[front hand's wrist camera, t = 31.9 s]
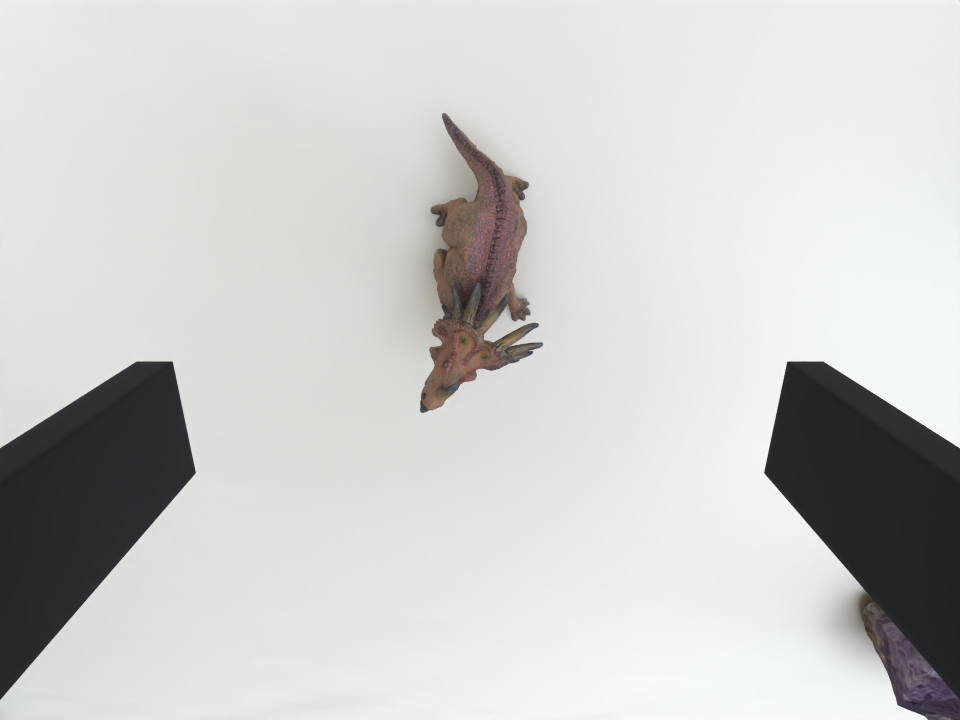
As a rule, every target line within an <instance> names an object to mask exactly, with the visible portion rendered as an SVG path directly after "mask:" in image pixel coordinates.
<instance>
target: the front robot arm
mask: <svg viewBox="0 0 960 720" xmlns="http://www.w3.org/2000/svg"><path fill="white" fill-rule="evenodd" d="M195 473H196V472H195V467H194V462H193V457H192V452H191V448H190V443H189V438H188V433H187V428H186V424H185V419H184V414H183V409H182V404H181V399H180V395H179V390H178V385H177V380H176V375H175V371H174V366H173V362H135V363H134V364H132V365H131V366H129V367H127V368H126V369H124V370H123V371H121V372H120V373H118V374H116V375H115V376H113V377H112V378H110V379H109V380H107V381H105V382H104V383H102V384H101V385H99V386H98V387H96V388H94V389H93V390H91V391H90V392H88V393H87V394H85V395H83V396H82V397H80V398H79V399H77V400H76V401H74V402H72V403H71V404H69V405H68V406H66V407H65V408H63V409H61V410H60V411H58V412H57V413H55V414H54V415H52V416H50V417H49V418H47V419H46V420H44V421H43V422H41V423H39V424H38V425H36V426H35V427H33V428H31V429H30V430H28V431H27V432H25V433H24V434H22V435H20V436H19V437H17V438H16V439H14V440H13V441H11V442H9V443H8V444H6V445H5V446H3V447H2V448H0V699H1V698H2V697H3V696H4V695H5V694H6V692H7V691H8V690H9V689H10V688H11V687H12V686H13V684H14V683H15V682H16V681H17V680H18V679H19V677H20V676H21V675H22V674H23V673H24V672H25V670H26V669H27V668H28V667H29V666H30V665H31V663H32V662H33V661H34V660H35V659H36V658H37V657H38V655H39V654H40V653H41V652H42V651H43V650H44V648H45V647H46V646H47V645H48V644H49V643H50V641H51V640H52V639H53V638H54V637H55V636H56V634H57V633H58V632H59V631H60V630H61V629H62V628H63V626H64V625H65V624H66V623H67V622H68V621H69V619H70V618H71V617H72V616H73V615H74V614H75V612H76V611H77V610H78V609H79V608H80V607H81V606H82V604H83V603H84V602H85V601H86V600H87V599H88V597H89V596H90V595H91V594H92V593H93V592H94V590H95V589H96V588H97V587H98V586H99V585H100V583H101V582H102V581H103V580H104V579H105V578H106V577H107V575H108V574H109V573H110V572H111V571H112V570H113V568H114V567H115V566H116V565H117V564H118V563H119V561H120V560H121V559H122V558H123V557H124V556H125V554H126V553H127V552H128V551H129V550H130V549H131V548H132V546H133V545H134V544H135V543H136V542H137V541H138V539H139V538H140V537H141V536H142V535H143V534H144V532H145V531H146V530H147V529H148V528H149V527H150V526H151V524H152V523H153V522H154V521H155V520H156V519H157V517H158V516H159V515H160V514H161V513H162V512H163V510H164V509H165V508H166V507H167V506H168V505H169V503H170V502H171V501H172V500H173V499H174V498H175V497H176V495H177V494H178V493H179V492H180V491H181V490H182V488H183V487H184V486H185V485H186V484H187V483H188V481H189V480H190V479H191V478H192V477H193V476H194V474H195ZM764 473H765V474H766V476H767V477H768V478H769V479H770V480H771V481H772V483H773V484H774V485H775V486H776V487H777V488H778V490H779V491H780V492H781V493H782V494H783V495H784V497H785V498H786V499H787V500H788V501H789V502H790V503H791V505H792V506H793V507H794V508H795V509H796V510H797V512H798V513H799V514H800V515H801V516H802V517H803V519H804V520H805V521H806V522H807V523H808V524H809V526H810V527H811V528H812V529H813V530H814V531H815V532H816V534H817V535H818V536H819V537H820V538H821V539H822V541H823V542H824V543H825V544H826V545H827V546H828V548H829V549H830V550H831V551H832V552H833V553H834V554H835V556H836V557H837V558H838V559H839V560H840V561H841V563H842V564H843V565H844V566H845V567H846V568H847V570H848V571H849V572H850V573H851V574H852V575H853V577H854V578H855V579H856V580H857V581H858V582H859V583H860V585H861V586H862V587H863V588H864V589H865V590H866V592H867V593H868V594H869V595H870V596H871V597H872V599H873V600H874V601H875V602H876V603H877V604H878V606H879V607H880V608H881V609H882V610H883V611H884V612H885V614H886V615H887V616H888V617H889V618H890V619H891V621H892V622H893V623H894V624H895V625H896V626H897V628H898V629H899V630H900V631H901V632H902V633H903V634H904V636H905V637H906V638H907V639H908V640H909V641H910V643H911V644H912V645H913V646H914V647H915V648H916V650H917V651H918V652H919V653H920V654H921V655H922V657H923V658H924V659H925V660H926V661H927V662H928V663H929V665H930V666H931V667H932V668H933V669H934V670H935V672H936V673H937V674H938V675H939V676H940V677H941V679H942V680H943V681H944V682H945V683H946V684H947V686H948V687H949V688H950V689H951V690H952V691H953V692H954V694H955V695H956V696H957V697H958V698H959V699H960V448H958V447H957V446H955V445H954V444H952V443H951V442H949V441H947V440H946V439H944V438H943V437H941V436H940V435H938V434H936V433H935V432H933V431H932V430H930V429H929V428H927V427H925V426H924V425H922V424H921V423H919V422H917V421H916V420H914V419H913V418H911V417H910V416H908V415H906V414H905V413H903V412H902V411H900V410H899V409H897V408H895V407H894V406H892V405H891V404H889V403H888V402H886V401H884V400H883V399H881V398H880V397H878V396H877V395H875V394H873V393H872V392H870V391H869V390H867V389H866V388H864V387H862V386H861V385H859V384H858V383H856V382H855V381H853V380H851V379H850V378H848V377H847V376H845V375H844V374H842V373H840V372H839V371H837V370H836V369H834V368H833V367H831V366H829V365H828V364H826V363H825V362H787V366H786V371H785V375H784V380H783V385H782V390H781V395H780V399H779V404H778V409H777V414H776V419H775V424H774V428H773V433H772V438H771V443H770V448H769V452H768V457H767V462H766V467H765V472H764Z"/></svg>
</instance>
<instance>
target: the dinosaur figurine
mask: <svg viewBox="0 0 960 720" xmlns="http://www.w3.org/2000/svg"><path fill="white" fill-rule="evenodd" d="M442 118H443V121H444V124H445V126H446V129H447V131H448V134H449V135H450V137H451V139H452V140H453V142H454V143H455V145H456V147H457V149H458V151H459V152H460V153H461V155H462V156H463V157H464V159H465V160H466V162H467V164H468V165H469V167H470V168H471V169H472V171H473V172H474V174H475V176H476V178H477V181H478V185H479V187H478V191H477V195H476V198H475V200H474V202H470V203H467V201H466V200H465V199H464V198H458V199H457V200H453V201H450V202H449V203H446V204H444V205H436V206H434V207H432V208H431V212H432V213H433V214H438V215H440V217H439V218H438V220H437V221H436V225H437V226H443V225H444V229H443V232H442V238H443V240H444V241H445V242H446V243H447V245H449V246H450V249H449V251H446V250H443V249H438V250H437V252H436V253H435V255H434V276H435V279H436V281H437V283H438V284H437V290H438V295H439V298H440V303H441V304H442V309H443V311H444V313H445V316H444V317H443V320H442V319H438V321H436V324H434V328H433V329H432V333H433V335H434V336H436V337H438V338H439V339H440V340H441V341H442V345H441V346H438V347H431V348H430V349H429V351H430V353H431V357H432V359H433V361H434V365H435V366H434V369H433V371H432V372H431V374H430V375H429V377H428V378H427V380H426V382H425V387H424V388H423V390H422V394H421V401H420V405H421V407H420V412H421V413H424V412H427V411H429V410H434V409H436V408H439V407H441V406H442V405H443V404H444V402H445V400H446V399H447V398H448V397H450V396H451V395H452V394H453V393H454V392H455V391H456V390H457V389H458V388H459V386H460V384H462V383H463V382H468V381H473V380H475V378H476V376H477V374H476V370H477V369H486V370H491V371H492V370H496V369H500V368H501V367H503V366H505V365H507V364H509V363H515V362H517V361H519V359H522V358H524V357H527V356H529V355H531V354H532V353H533V351H530V350H533V349H537V348H540V347H542V345H543V343H527V344H520V345H515V346H511V345H512V344H514V343H515V342H517V341H518V340H520V339H521V338H522V337H524V336H525V335H526V334H527V333H529V332H530V331H531V330H533V329H534V328H537V327H538V326H539V324H537V323H531V324H527V325H525V326H523V327H521V328H519V329H517V330H515V331H513V332H511V333H510V334H508V335H506V336H504V337H502V338H501V339H499V340H497V341H496V342H494V343H493V342H490V341H485V340H483V339H484V334H485V332H486V331H487V330H488V329H489V328H490V327H491V326H492V324H493V323H494V322H495V321H496V320H497V319H498V317H499V316H500V315H501V313H502V312H503V310H504V309H505V307H506V306H507V303H508V305H509V308H510V310H511V316H512V320H513V321H517V320H518V319H521V320H523V321H525V320H526V319H525V316H526V315H530V314H531V313H530V311H529V309H528V308H527V307H526V306H527V305H529V304H530V303H529V302H527V299H522V300H518V299H517V298H516V297H515V291H514V285H513V283H512V279H513V277H514V274H515V273H516V268H515V267H516V262H517V255H518V252H519V250H520V247H521V244H522V241H523V240H524V237H525V235H526V232H527V222H526V220H525V218H524V216H523V210H522V208H521V207H520V206H519V199H520V200H524V199H525V195H524V193H523V190H524V189H527V188H528V186H529V184H528V182H525V181H523V180H521V179H519V178H517V177H512V176H505V175H504V174H503V171H502V169H500V168H499V167H498V166H497V165H496V164H495V162H494V161H491V160H490V159H489V158H488V157H487V156H486V155H485V154H483V153H482V152H480V151H479V150H478V149H477V148H476V145H474V144H473V143H472V142H471V141H470V140H469V139H468V137H467V136H466V135H465V134H464V133H463V132H462V131H461V130H460V129H459V128H458V127H457V126H456V125H455V124H454V123H453V122H452V120H451V119H450V117H449V116H448V115H447V114H446V113H443V114H442ZM502 298H503V299H502ZM501 299H502V300H501ZM500 300H501V301H500ZM509 346H511V347H509Z"/></svg>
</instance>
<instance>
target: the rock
mask: <svg viewBox="0 0 960 720" xmlns="http://www.w3.org/2000/svg"><path fill="white" fill-rule="evenodd" d="M862 618H863V621H864V624H865V630H866V632H867V634H868V636H869V638H870V639H871V640H872V642H873V645H874V648H875V650H876V652H877V653H878V655H879V657H880V659H881V661H882V663H883V664H884V666H885V668H886V671H887V673H888V675H889V678H890V681H891V684H892V688H893V691H894V694H895V697H896V701H897V704H898V705H899V706H901V707H903V708H905V709H908V710H910V711H913V712H916V713H918V714H921V715H923V716H925V717H926V718H927V719H928V720H960V699H959V698H958V697H957V696H956V695H955V694H954V692H953V691H952V690H951V689H950V688H949V687H948V686H947V684H946V683H945V682H944V681H943V680H942V679H941V677H940V676H939V675H938V674H937V673H936V672H935V670H934V669H933V668H932V667H931V666H930V665H929V663H928V662H927V661H926V660H925V659H924V658H923V657H922V655H921V654H920V653H919V652H918V651H917V650H916V648H915V647H914V646H913V645H912V644H911V643H910V641H909V640H908V639H907V638H906V637H905V636H904V634H903V633H902V632H901V631H900V630H899V629H898V628H897V626H896V625H895V624H894V623H893V622H892V621H891V619H890V618H889V617H888V616H887V615H886V614H885V612H884V611H883V610H882V609H881V608H880V607H879V606H878V604H877V603H876V602H875V601H874V602H871V603H869V604H868V605H866V606H865V607H864V611H862Z"/></svg>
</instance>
